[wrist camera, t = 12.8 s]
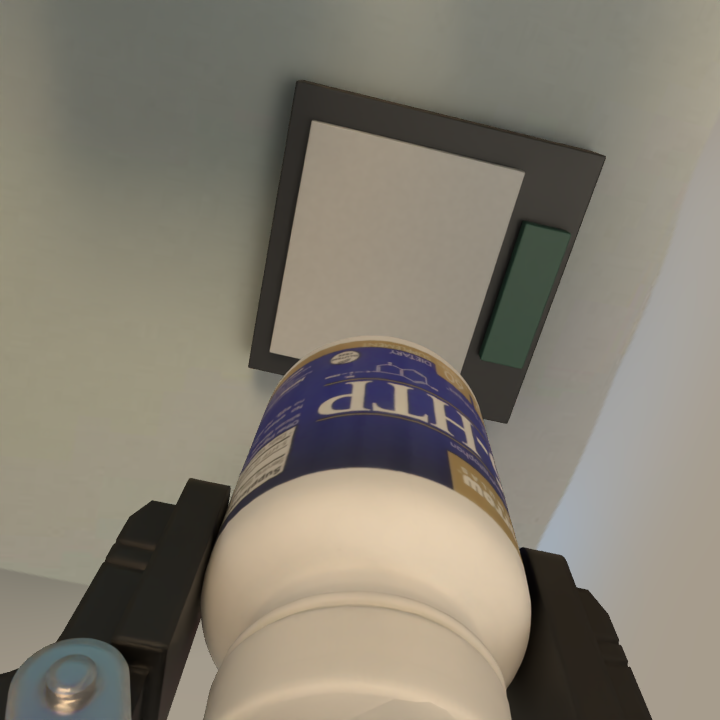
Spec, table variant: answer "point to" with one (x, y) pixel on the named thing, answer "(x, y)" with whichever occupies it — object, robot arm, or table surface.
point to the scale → (418, 237)
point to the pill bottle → (366, 550)
